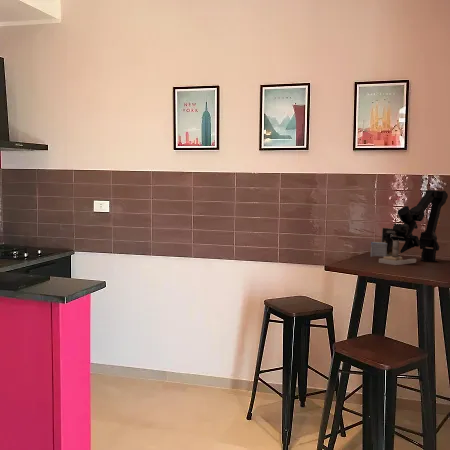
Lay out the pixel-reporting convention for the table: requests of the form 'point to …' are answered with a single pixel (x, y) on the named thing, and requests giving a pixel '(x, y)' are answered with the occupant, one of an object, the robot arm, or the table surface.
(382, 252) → the medicine box
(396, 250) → the handle block
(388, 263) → the shelf lane
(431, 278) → the table surface
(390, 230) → the coffee box
